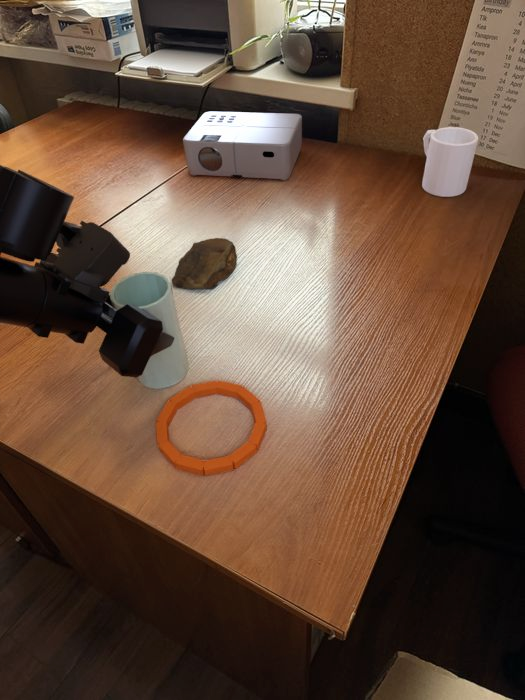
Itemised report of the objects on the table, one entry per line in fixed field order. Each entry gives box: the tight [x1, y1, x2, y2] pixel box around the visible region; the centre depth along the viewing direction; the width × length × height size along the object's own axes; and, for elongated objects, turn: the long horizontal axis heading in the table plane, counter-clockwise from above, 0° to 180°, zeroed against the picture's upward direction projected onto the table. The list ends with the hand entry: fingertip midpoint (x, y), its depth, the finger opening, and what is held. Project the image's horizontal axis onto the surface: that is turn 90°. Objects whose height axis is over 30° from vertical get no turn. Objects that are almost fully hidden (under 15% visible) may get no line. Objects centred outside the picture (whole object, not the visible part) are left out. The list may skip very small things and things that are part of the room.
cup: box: [109, 271, 190, 390], centre depth 61 cm, size 7×7×13 cm
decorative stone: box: [171, 237, 238, 290], centre depth 79 cm, size 10×9×4 cm
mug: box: [421, 126, 479, 198], centre depth 95 cm, size 8×12×10 cm
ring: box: [155, 379, 268, 477], centre depth 58 cm, size 12×12×1 cm
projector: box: [182, 111, 303, 181], centre depth 106 cm, size 17×22×8 cm
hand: (147, 324), depth 60 cm, fingers open, 9 cm apart
